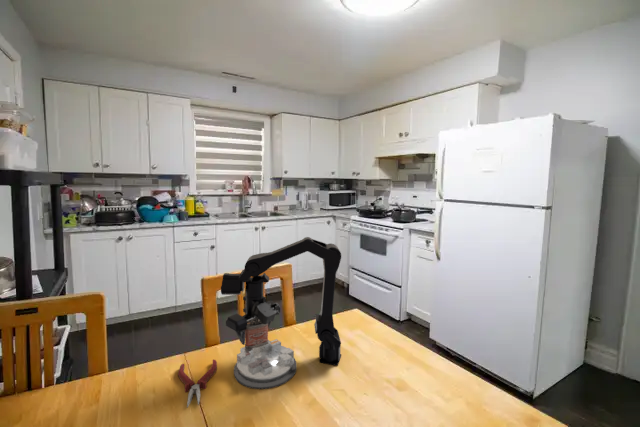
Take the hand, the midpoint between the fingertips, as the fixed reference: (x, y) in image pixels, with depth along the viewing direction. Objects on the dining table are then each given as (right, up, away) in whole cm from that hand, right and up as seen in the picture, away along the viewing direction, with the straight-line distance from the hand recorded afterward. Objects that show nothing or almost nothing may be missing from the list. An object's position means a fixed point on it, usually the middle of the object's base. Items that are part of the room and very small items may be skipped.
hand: (254, 338), depth 106 cm
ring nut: (+4, -7, -3) cm, 9 cm away
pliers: (-17, -10, -11) cm, 22 cm away
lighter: (+1, -3, +1) cm, 3 cm away
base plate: (+4, -8, -3) cm, 10 cm away
